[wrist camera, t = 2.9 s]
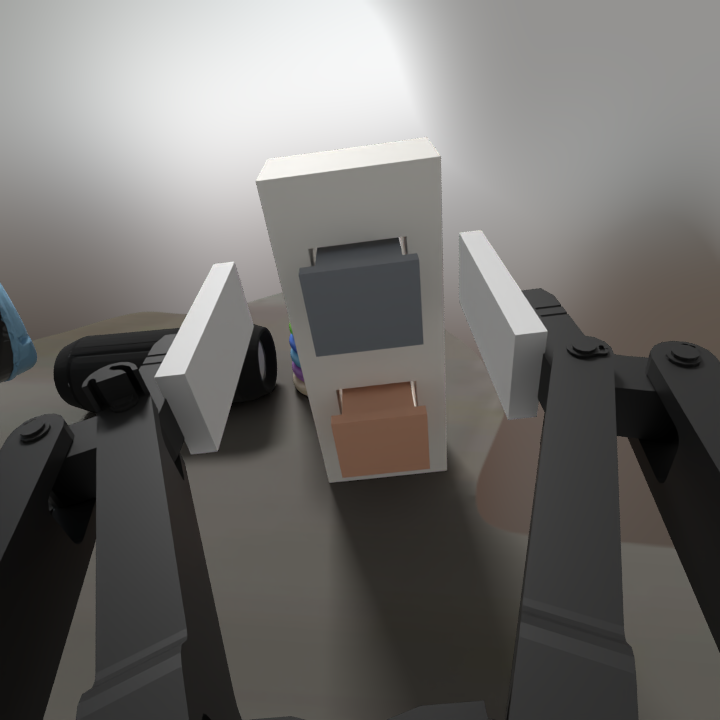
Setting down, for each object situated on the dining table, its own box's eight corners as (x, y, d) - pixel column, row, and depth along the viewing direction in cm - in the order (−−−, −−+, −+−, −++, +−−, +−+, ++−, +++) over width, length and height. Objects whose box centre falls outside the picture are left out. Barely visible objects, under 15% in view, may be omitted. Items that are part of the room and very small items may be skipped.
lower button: (342, 477, 41) (330, 424, 37) (342, 422, 47) (332, 371, 43) (430, 468, 41) (427, 413, 37) (419, 413, 46) (415, 361, 43)
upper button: (316, 356, 33) (298, 274, 30) (320, 308, 39) (305, 233, 35) (423, 344, 33) (419, 259, 29) (411, 296, 39) (406, 220, 35)
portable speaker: (283, 368, 66) (266, 305, 60) (269, 417, 58) (248, 350, 52) (110, 381, 68) (78, 322, 62) (74, 430, 60) (33, 368, 54)
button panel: (329, 482, 48) (255, 181, 31) (330, 440, 53) (267, 159, 36) (447, 470, 48) (440, 156, 30) (437, 428, 52) (427, 137, 35)
